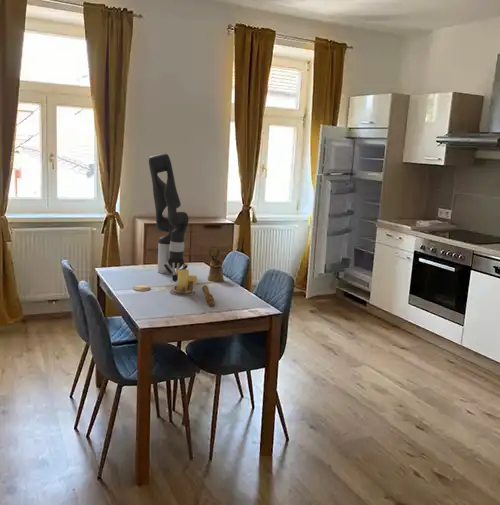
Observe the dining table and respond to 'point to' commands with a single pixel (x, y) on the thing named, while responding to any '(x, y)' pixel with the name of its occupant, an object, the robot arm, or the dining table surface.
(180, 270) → the cylinder with side tabs
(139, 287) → the coaster
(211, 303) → the tap handle
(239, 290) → the dining table surface
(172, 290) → the stand base
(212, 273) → the wooden mug
